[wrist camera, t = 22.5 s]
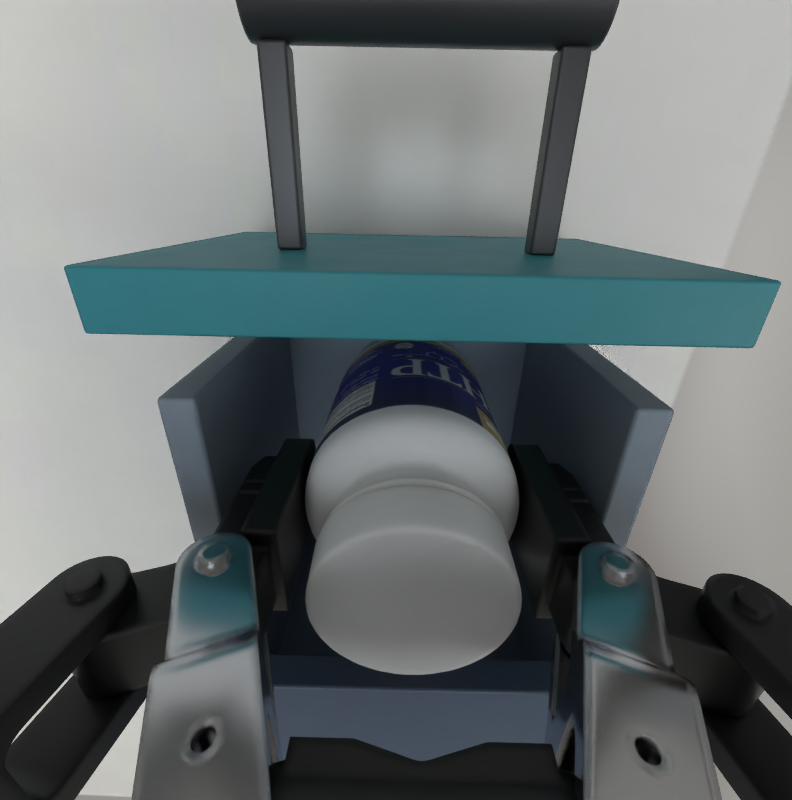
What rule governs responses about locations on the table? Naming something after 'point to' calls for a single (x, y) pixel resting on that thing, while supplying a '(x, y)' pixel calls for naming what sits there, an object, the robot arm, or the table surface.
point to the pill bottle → (412, 515)
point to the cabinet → (411, 704)
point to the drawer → (419, 297)
